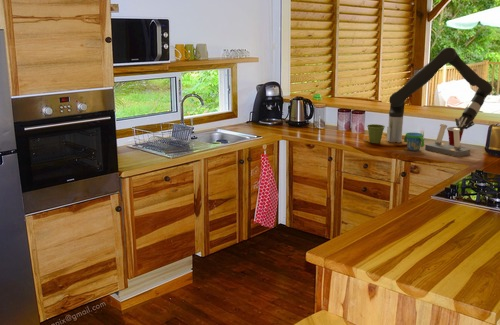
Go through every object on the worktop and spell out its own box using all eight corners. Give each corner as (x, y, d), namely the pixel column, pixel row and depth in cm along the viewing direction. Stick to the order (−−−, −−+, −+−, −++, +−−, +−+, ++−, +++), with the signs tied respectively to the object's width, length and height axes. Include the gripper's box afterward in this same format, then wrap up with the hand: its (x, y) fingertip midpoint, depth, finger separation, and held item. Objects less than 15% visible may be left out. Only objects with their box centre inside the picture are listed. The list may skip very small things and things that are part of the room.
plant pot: (363, 143, 369) (364, 126, 366) (368, 139, 379) (369, 123, 376) (381, 145, 363) (382, 128, 361) (386, 141, 374) (387, 125, 371)
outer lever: (458, 149, 336) (457, 130, 332) (453, 148, 339) (452, 129, 335) (461, 148, 338) (459, 128, 333) (456, 147, 340) (454, 127, 336)
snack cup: (428, 151, 345) (429, 135, 342) (414, 153, 341) (415, 137, 339) (412, 146, 359) (413, 131, 357) (399, 147, 356) (400, 132, 353)
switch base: (457, 156, 332) (458, 151, 331) (425, 149, 351) (425, 144, 350) (469, 154, 338) (470, 149, 338) (437, 146, 358) (437, 142, 357)
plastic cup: (441, 145, 363) (443, 127, 360) (454, 143, 367) (456, 125, 364) (452, 148, 353) (454, 130, 350) (466, 147, 357) (468, 128, 354)
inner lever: (439, 144, 347) (445, 124, 347) (434, 143, 350) (440, 123, 349) (441, 145, 349) (447, 125, 348) (436, 144, 351) (442, 124, 351)
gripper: (459, 105, 342) (445, 127, 338) (479, 108, 331) (464, 131, 328) (464, 113, 346) (450, 134, 343) (483, 116, 336) (469, 138, 332)
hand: (457, 132), depth 335 cm, fingers closed
